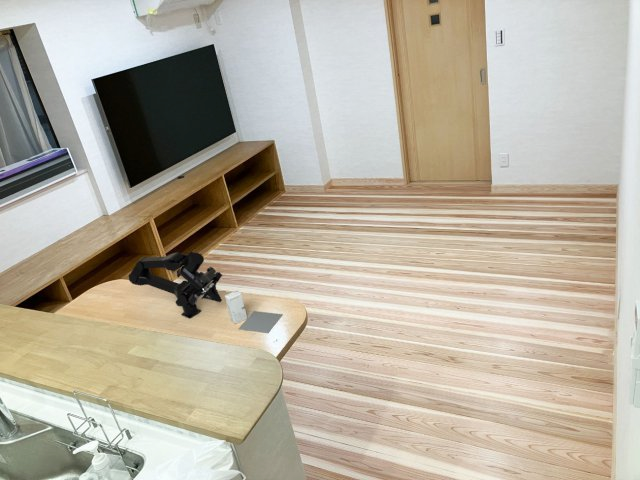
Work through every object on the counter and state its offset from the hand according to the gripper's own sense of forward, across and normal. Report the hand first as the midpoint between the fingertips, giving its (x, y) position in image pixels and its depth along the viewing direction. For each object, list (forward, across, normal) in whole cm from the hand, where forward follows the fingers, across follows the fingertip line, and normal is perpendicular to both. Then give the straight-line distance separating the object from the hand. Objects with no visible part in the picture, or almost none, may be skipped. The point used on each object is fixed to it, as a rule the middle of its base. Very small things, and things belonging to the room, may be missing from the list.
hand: (221, 301), depth 217 cm
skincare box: (+11, 0, +1) cm, 11 cm away
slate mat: (+18, 0, -6) cm, 19 cm away
